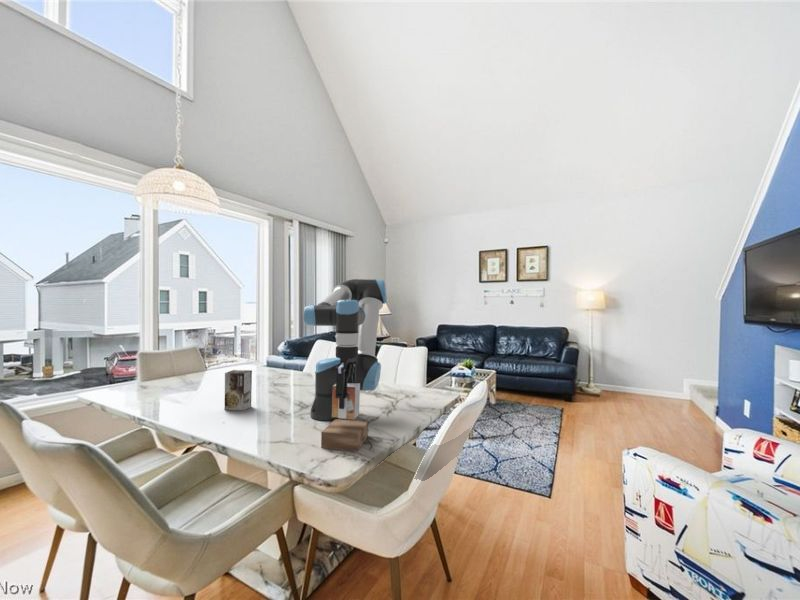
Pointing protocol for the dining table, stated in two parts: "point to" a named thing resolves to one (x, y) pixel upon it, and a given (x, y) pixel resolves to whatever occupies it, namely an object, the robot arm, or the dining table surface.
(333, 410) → the small box
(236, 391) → the coffee box
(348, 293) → the robot arm
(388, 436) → the dining table surface
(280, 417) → the dining table surface
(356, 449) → the walnut block
